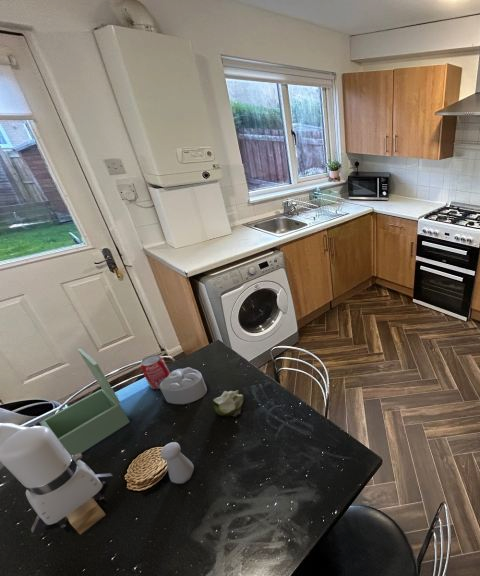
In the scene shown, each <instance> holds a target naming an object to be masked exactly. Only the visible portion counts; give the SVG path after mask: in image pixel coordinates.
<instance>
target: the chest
mask: <svg viewBox="0 0 480 576" xmlns="http://www.w3.org/2000/svg"><path fill="white" fill-rule="evenodd" d="M129 423H131V421H130V420H129V418H128V416H127V414H126V412H125V411H124V409H123V407H122V406H121V403H119V404H117V403H116V402H115V401H114V400H113V399H112V398H111V397H110V396H109V395H108V394H107V393H106V392H105V391H104V390H103V389H102V388H101V389H98V390H97V391H95V392H93V393H91V394H89V395H87V396H85V397H83V398H81V399H80V400H78V401H76V402H74V403H72V404H71V405H68V406H67V407H65V408H63V409H61V410H59V411H57V412H55V413H54V414H52V415H49V416H48V417H46V418H45V419H42V420H40V424H41V426H44V427H47V428H49V429H50V430H51V431H52V432H53V434H54V435H55V436H56V438H57V439H58V440H59V441H60V443H61V444H62V445H63V447H64V448H65V449H66V450H67V452H68V453H69V454H70V456H71V455H76V454H77V453H79V452H80V453H81V454H83V453H84V452H86V451H87V450H88V449H90V448H92V447H93V446H95V445H97V444H98V443H99V442H101V441H103V440H105V439H106V438H108V437H109V436H111V435H112V434H114V433H115V432H117V431H118V430H120V429H121V428H123V427H125V426H126V425H128V424H129Z"/></svg>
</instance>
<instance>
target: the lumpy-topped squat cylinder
mask: <svg viewBox="0 0 480 576" xmlns="http://www.w3.org/2000/svg"><path fill="white" fill-rule="evenodd" d="M159 390H160V391H161V393H162V394H163V398H164V399H165V401H166V403H168V404H174V405H186V404H190V403H193V402H195V401H198V400H199V399H201V398H203V397H204V396H205V395H206V394H207V392H208V388H207V385H206V383H205V380H204V377H203V374H202V373H201V372H200V371H199V370H197V369H194V368H192V367H185V368H177V369H175V370H174V369H173V370H172V371H170V374H169V375H168V377H167V378H166V379H165V380H164V381H162V382H161V383H160V389H159Z"/></svg>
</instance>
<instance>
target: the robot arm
mask: <svg viewBox="0 0 480 576" xmlns="http://www.w3.org/2000/svg"><path fill="white" fill-rule="evenodd" d="M82 458H83V454H82V453H80V452H79V453H77V454H76V455H71V456H70V454H69V453H68V452H67V450H66V449H65V448H64V447H63V445H62V444H61V443H60V441H59V440H58V439H57V438H56V436H55V435H54V434H53V432H52V431H51V430H50V429H49V428H47V427H44V426H43V425H33V426H25V425H19V424H17V423H12V422H0V471H1V470H2V469H3V468H4V467H5V468H6V469H7V470H8V472H10V473H11V474H12V475H13V476H14V477H15V479H16V480H18V481H19V482H20V483H21V484H22V486H23V487H24V488H25V489H26V491H25V496H26V499H27V501H28V503H29V504H30V506H31V508H32V509H33V510H34V512H35V513H36V517H35V519H34V520H33V523H32V526H31V528H30V532H31V534H32V535H36V534H39V533H42V532H45V531H51V530H54V529H60V530H62V529H63V531H65V532H66V533H67V534H69V533H70V532H71V533H73V534H74V535H76V534H77V533H78V532H77V531H76V529H75V528H74V527H73V526H72V525H71V524H70V522H69V521H68V519H67V517H66V516H67V515H68V514H69V513H71V512H72V511H74V510H75V509H76V508H78V507H79V506H81V505H82V504H83V503H85V502H86V501H87V500H89V499H90V498H94V500H95V501H96V502H97V504H98V505H99V506H100V508H101V509H102V510H103V511H104V512H105V511H107V507H106V504H108V502H107V500H106V499H105V493H106V491H107V490H108V487H109V485H110V484H111V482H112V481H113V479H114V475H113V474H112V473H111V472H110V473H109V472H107V473H95V472H94V471H93V470H92V468H90V466H89V465H88V464H87V463H85V462H84V461H83V460H81V459H82Z"/></svg>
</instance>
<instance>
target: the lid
mask: <svg viewBox="0 0 480 576" xmlns="http://www.w3.org/2000/svg"><path fill="white" fill-rule="evenodd" d="M77 351H78V353H79V354H80V356H81V358H82V359H83V361H84V362H85V364H86V366H87V368H88V369H89V371H90V372H91V374H92V375H93V377H94V379H95V380H96V382H97V384H98V385H99V387H100V388H101V389H103V390H104V391H105V392H106V393H107V394H108V395H109V396H110V397H111V398H112V399H113V400H114V401H115V402H116V403H117V404H121V401H120V399H119V398H118V396H117V394H116V392H115V391H114V389H113V387H112V386H111V384H110V383H109V381H108V379H107V377H106V376H105V374H104V372H103V370H102V369H101V367H100V366H99V364H98V363H97V361H95V360H94V359H93V358H92V357H91V356H89V354H88V353H87V352H85V351H84V350H83V349H82V348H78V349H77Z"/></svg>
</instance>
